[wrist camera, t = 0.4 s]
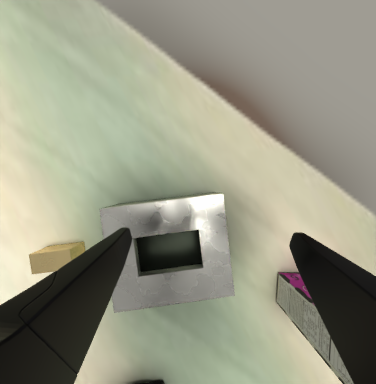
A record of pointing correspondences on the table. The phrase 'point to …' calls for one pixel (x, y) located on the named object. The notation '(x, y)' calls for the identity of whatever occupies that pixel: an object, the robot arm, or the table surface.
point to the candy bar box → (309, 321)
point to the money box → (179, 276)
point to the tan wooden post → (54, 257)
